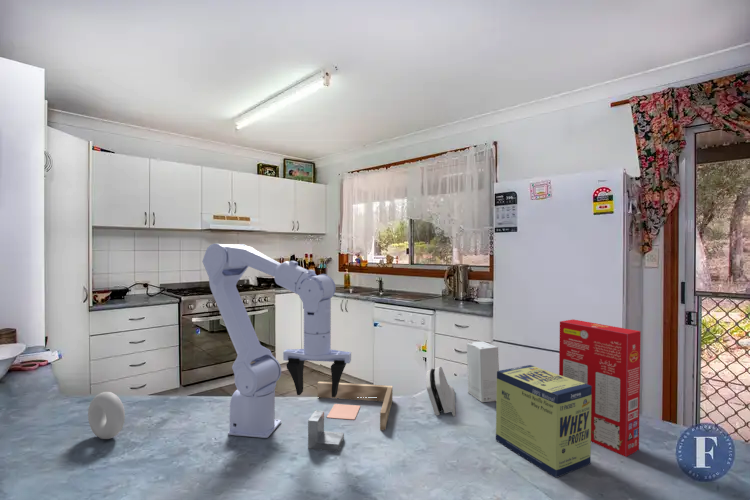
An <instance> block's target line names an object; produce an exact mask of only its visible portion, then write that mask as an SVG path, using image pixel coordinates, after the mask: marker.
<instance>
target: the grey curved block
mask: <svg viewBox="0 0 750 500" xmlns="http://www.w3.org/2000/svg"><path fill="white" fill-rule="evenodd" d="M425 384H426V391H427V395H428V397H429V401H430V403H431V407H432V409H433V412H434V415H435V416H440V414H441V413H444V414H447V413H451V414H452V416H453V417H456V392H455V389H454V386H452V385H450V384H449V383H448V381H447V378H446V375H445V372H444V370H443V367H442V366H437V367H435V368H430V369H429V370H427V371H426V374H425Z"/></svg>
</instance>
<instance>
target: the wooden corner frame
mask: <svg viewBox="0 0 750 500" xmlns="http://www.w3.org/2000/svg"><path fill="white" fill-rule="evenodd" d="M393 387H394V386H393V385H385V384H384V385H382V384H378V385H377V384H366V383H350V382H339V385H338V391H337V395H336V397H332V381H318V382H317V392H316V393H317V394H316V396H317V398H322V399H324V398H325V399H337V398H339V399H338V400H355V401H368V402H371V401H372V402H382V406H381V409H380V412H379V430H380V431H386V428H387V424H388V421H389V417H390V412H391V408H392V403H393V392H394V391H393ZM357 397H359V398H357ZM360 397H362V398H360ZM363 397H364V398H363ZM365 397H367V398H365ZM368 397H377V398H368Z"/></svg>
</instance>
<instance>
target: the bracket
mask: <svg viewBox="0 0 750 500" xmlns="http://www.w3.org/2000/svg"><path fill="white" fill-rule="evenodd" d="M307 425H308V426H307V449H308V450H314V451H315V450H317V451H326V452H339V451H340V449H341V447H342V444H343V442H344V439H345V432H339V431H327V430H326V431H325V410H314V412H313V413H312V414H311V416H310V417H309V418H308V421H307Z"/></svg>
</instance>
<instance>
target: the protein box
mask: <svg viewBox="0 0 750 500" xmlns="http://www.w3.org/2000/svg"><path fill="white" fill-rule="evenodd" d="M591 390H592V386H591V385H588V384H585V383H582V382H579V381H576V380H573V379H570V378H567V377H564V376H561V375H559V373H555V372H553V371H552V372H551V371H548V370H546V369H543V368H540V367H538V366H535V365H532V364H527V365H522V366H517V367H512V368H507V369H501V370H500V369H499V371H497V399H496V401H495V402H496V404H495V405H496V411H495V412H496V415H495V418H496V419H495V440H496V441H497V442H498V443H499V444H501V445H503V446H504V447H506V448H508V449H509V450H511V451H512V452H514V453H516V454H517V455H519V456H520V457H522V458H523V459H525V460H527V461H528V462H530V463H531V464H533V465H534V466H536V467H538V468H540V469H541V470H543V471H544V472H546V473H548V474H549V475H550V476H552V477H554V478H558V477H561V476H563V475H567V474H569V473H571V472H573V471H576V470H578V469H580V468H583V467H586V466H587V465H590V464H591V463H592V462H591V451H592V450H591V445H592V443H591V393H592V392H591Z"/></svg>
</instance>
